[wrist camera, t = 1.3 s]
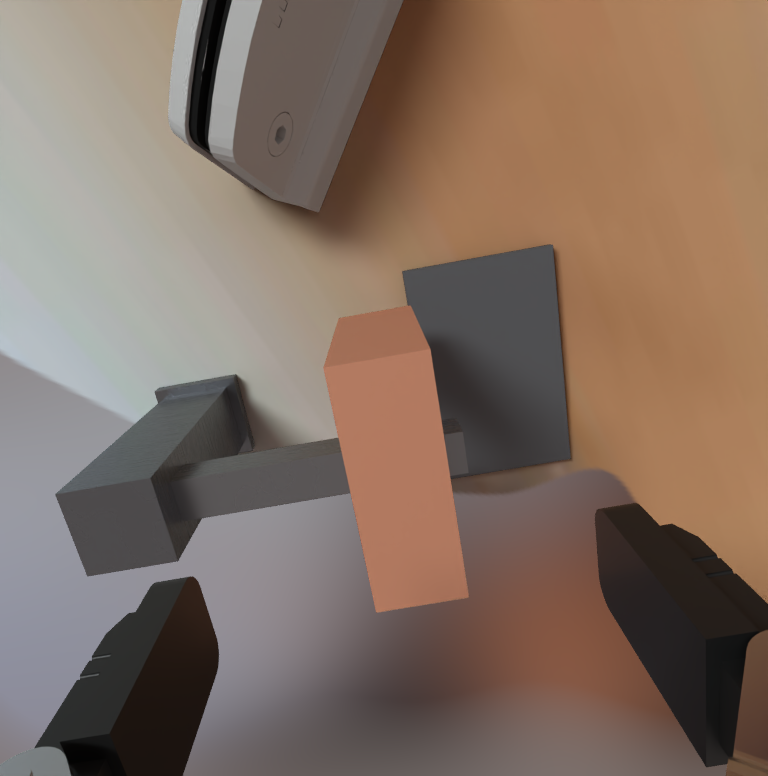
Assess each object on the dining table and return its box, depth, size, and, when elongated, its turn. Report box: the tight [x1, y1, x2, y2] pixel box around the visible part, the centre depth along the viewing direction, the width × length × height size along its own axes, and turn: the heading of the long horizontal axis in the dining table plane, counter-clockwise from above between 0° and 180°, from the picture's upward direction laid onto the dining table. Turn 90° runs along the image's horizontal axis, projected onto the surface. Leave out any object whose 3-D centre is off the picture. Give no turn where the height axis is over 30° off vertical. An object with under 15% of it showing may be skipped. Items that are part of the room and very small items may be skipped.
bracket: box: [56, 374, 469, 576], centre depth 30 cm, size 18×5×14 cm, turn 100°
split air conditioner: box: [168, 0, 403, 212], centre depth 26 cm, size 17×5×10 cm, turn 156°
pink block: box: [324, 305, 469, 612], centre depth 27 cm, size 4×11×10 cm, turn 10°
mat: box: [402, 245, 571, 479], centre depth 35 cm, size 9×14×1 cm, turn 10°
